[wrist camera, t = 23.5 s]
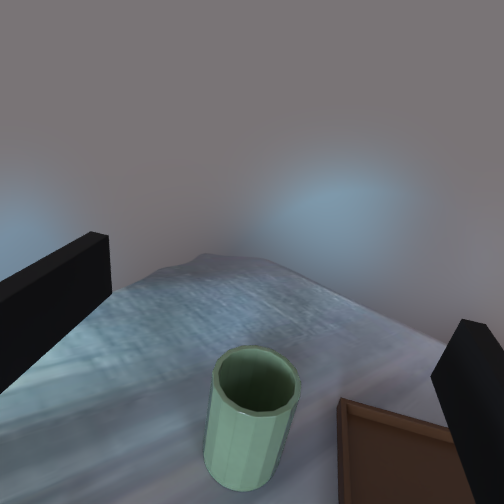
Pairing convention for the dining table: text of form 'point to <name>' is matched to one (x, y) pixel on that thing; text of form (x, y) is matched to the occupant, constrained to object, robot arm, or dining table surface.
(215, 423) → the cup
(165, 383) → the dining table surface
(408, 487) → the tray
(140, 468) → the dining table surface
